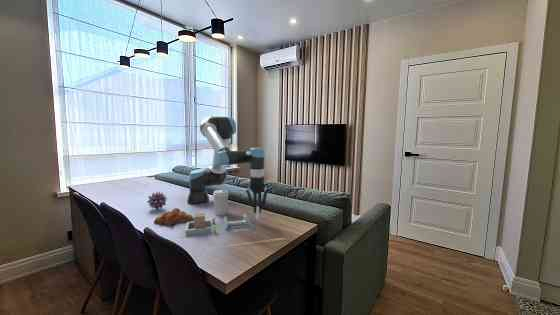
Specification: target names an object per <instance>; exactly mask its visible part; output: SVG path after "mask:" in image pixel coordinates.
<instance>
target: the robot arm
mask: <svg viewBox="0 0 560 315" xmlns="http://www.w3.org/2000/svg"><path fill="white" fill-rule="evenodd" d="M199 129H200V133H201V135H202V137H205V138H206V140H207V141H208V142H209V145H210V146H211V148H212V150H213V157H212V164H211V165H210V167H209V168H208V169H209V170H207V169H206V168H199V169H198V168H197V169H194V170H191V171H189V175H188V180H189V182H188V183H189V194H188V196H187V200H186V201H187V204H188V205H195V206H196V205H204V204H207V203H209V202H210V197H209V194H208V191H207V187H214V186H222V185H225V184H226V182H227V181H228V175H229V174H228V171H227V170H226V168H225V166H233V165H246V164H248V165H249V170H250V173H249V175H250V177H249V178H250V179H249V180H250V185H249V187H248V188H246V189H245V193H246V194H247V197H248V202H249V205H250V207H251V208H253V213H254V214H255V219H256V220H257V221H258V220H260V214H261V213H262V207H264V206H265V204H266V200H267V195H268V193H269V191H270V189H269V188H268V187H266V185H265V149H264V148H263V147H250V149H249V150H248V149H243V150H231V149H230V148H229V141H230V140H231V139H232V137H233V135H235V134H236V132H237V124H236V120H235V119H234V118H233V117H230V116H229V117H228V116H206V117H205V118H204V119H203V120H202V121H201V123H200V125H199ZM251 192H252V193H253V194H252V195H253V199H252V196H251ZM262 193H263V195H262Z"/></svg>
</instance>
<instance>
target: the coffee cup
mask: <svg viewBox="0 0 560 315" xmlns="http://www.w3.org/2000/svg"><path fill="white" fill-rule="evenodd" d="M212 196H213V202H214V211H215V216H225V215H227V212H228V199H229V192H228V190H226V189H216V190H214V191H213V193H212Z"/></svg>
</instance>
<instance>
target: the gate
mask: <svg viewBox="0 0 560 315" xmlns="http://www.w3.org/2000/svg"><path fill="white" fill-rule="evenodd" d="M247 219H248V215H247V213H244V214H242V219H240V220H241V221H234V220H230V221H231V222H227V221H228V218H227V216H223V222H224V226H225V230H227V229H228V227H234V226H244V225H247Z"/></svg>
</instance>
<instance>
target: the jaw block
mask: <svg viewBox="0 0 560 315" xmlns="http://www.w3.org/2000/svg"><path fill="white" fill-rule="evenodd" d="M193 218H194V220H193V222H194V229H197V228H205V221H206V213H205V211H202V212H194V215H193Z"/></svg>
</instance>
